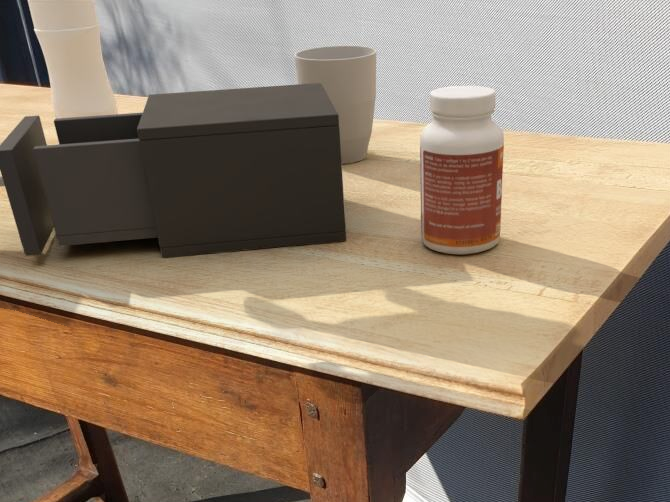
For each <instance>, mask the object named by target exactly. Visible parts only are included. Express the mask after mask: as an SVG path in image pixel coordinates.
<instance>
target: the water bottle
mask: <svg viewBox="0 0 670 502" xmlns="http://www.w3.org/2000/svg"><path fill="white" fill-rule="evenodd" d="M27 4H28V7H29V11H30V17H31V20H32V24H33V31H34V33H35V36H36V38H37V40H38V42H39V45H40V49H41V51H42V54H43V58H44V61H45V65H46V68H47V74H48V80H49V85H50V95H51V106H52V110H53V113H54V117H55V119H58V118H72V117H86V116H100V115H114V114H119V112H118V105H117V99H116V96H115V93H114V92H113V89H112V87H111V83H110V80H109V77H108V74H107V69H106V66H105V62H104V56H103V51H102V50H103V49H102V42H101V29H100V28H101V25H100V22H99V19H98V14H97V9H96V8H97V7H96V3H95V0H27Z"/></svg>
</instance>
